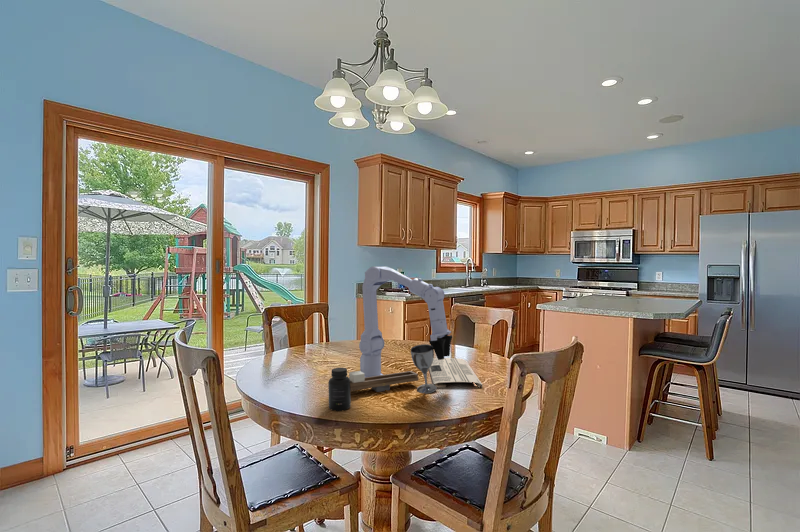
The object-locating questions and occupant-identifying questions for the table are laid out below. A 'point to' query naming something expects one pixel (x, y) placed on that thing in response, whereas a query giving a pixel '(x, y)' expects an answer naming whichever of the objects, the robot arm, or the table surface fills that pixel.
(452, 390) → the table surface
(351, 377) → the block
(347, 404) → the supplement bottle
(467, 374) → the newspaper
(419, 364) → the wine glass
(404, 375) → the beam
